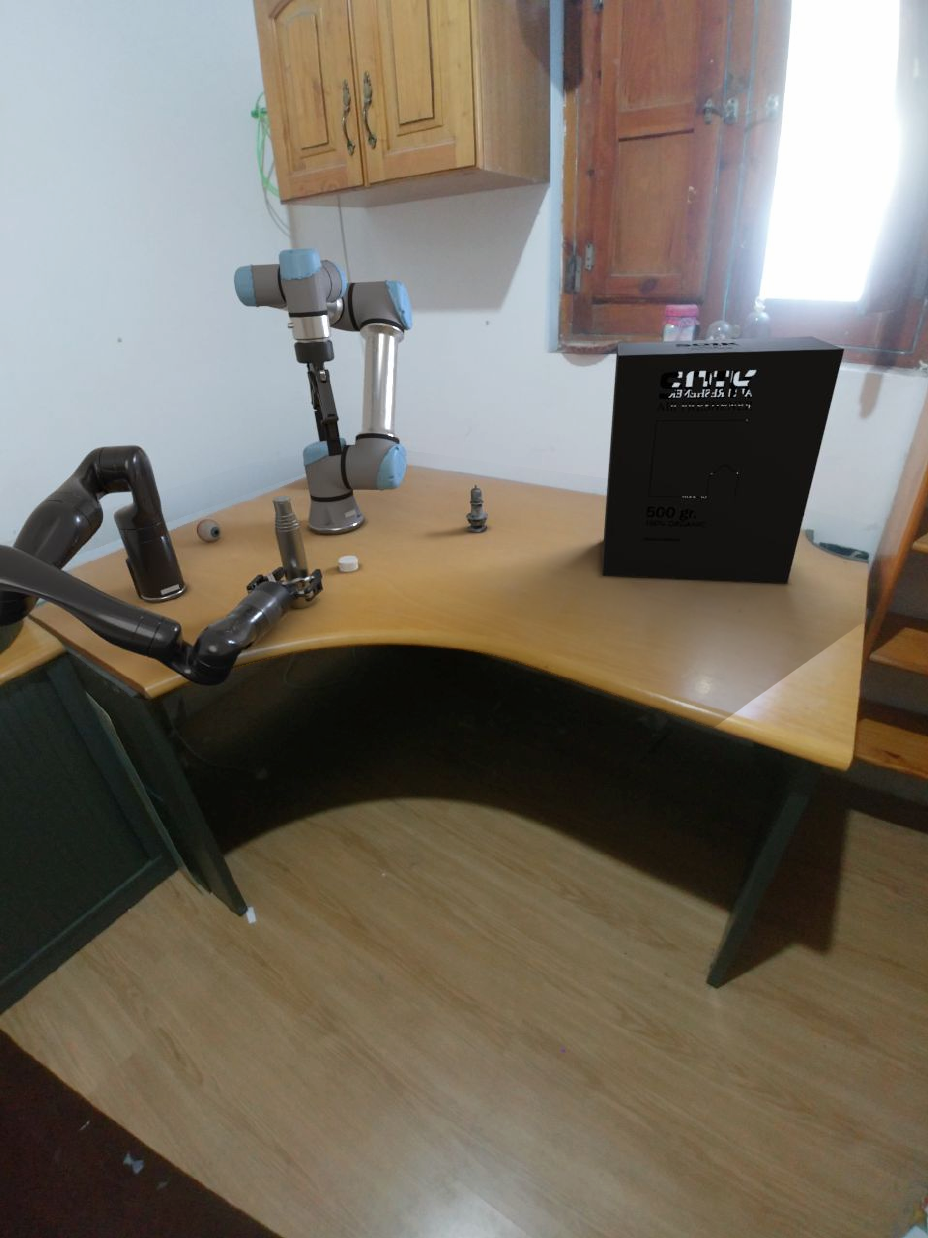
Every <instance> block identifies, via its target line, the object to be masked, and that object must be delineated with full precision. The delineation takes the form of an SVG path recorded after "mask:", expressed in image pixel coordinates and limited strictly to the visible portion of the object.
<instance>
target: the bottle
mask: <svg viewBox="0 0 928 1238" xmlns="http://www.w3.org/2000/svg"><path fill="white" fill-rule="evenodd" d="M290 497H291V496H289V495H279V496H276V497H273V498H272V500H271V501H272V504H273V507H274V512H275V513H274V524H273V526H274V533H275V538H276V542H277V546H278V551H279V555H280V556H279V557H280V560H281V564H282V567H283V569H284V574H285V575H284V578H285V581H291V580H294V579H297V578H299V577H301V578H306V577H309V576H310V575H311V573H310V570H309V564H308V560H307V555H306V549H305V545H304V540H303V536H302V535H303V534H302V530H301V525H300V522H299V520H298V518H297V516H296V514H295V512H294V511H293V507H292V502H291V498H290ZM305 585H306V587H307V586H308V585H309V582H306V583H305ZM297 587H298V589H299V591H300V590H301V588H300V584H299V583H297ZM315 600H316V599H315V598H314V599H313V600H312V601H310V602H306V600H305V598H301V597H299V598H298V599H297V600H295V601H293V603H292V605H291V607H292V608H296V609H304V608H305V609H306V608H308V607H311V606H313V604H315Z"/></svg>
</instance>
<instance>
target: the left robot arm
mask: <svg viewBox="0 0 928 1238" xmlns="http://www.w3.org/2000/svg"><path fill="white" fill-rule="evenodd" d="M118 493H119V494H120V493H121V494H122V493H131V498H132V502H131V503H128V504H126V505H125V506H122V507H120V508H119V509H117V510H116V511H115V512H114V513H113V520H114V522H115V525H116V528H117V531H118V533H119V536H120V539H121V541H122V544H123V547H124V551H125V552H126V555H127V557H126V558H125V564H126V567H127V570H128V572H129V575H130V577H131V580H132V583H133V585H134V588H135V591H136V595H137V597H138V598H139V599H142V600H143V601H144V602H146V603H163V602H167V601H171V600H173V599H176V598H178V597H181V595H183V594H184V593H186V591H187V588H188V587H187V584H186V582H185V580H184V576H183V574H182V570H181V566H180V563H179V560H178V557H177V554H176V551H175V548H174V545H173V542H172V538H171V534H170V532H169V530H168V526H167V523H166V520H165V517H164V514H163V510H162V509H163V508H162V502H161V497H160V492H159V490H158V486H157V482H156V478H155V474H154V469H153V467H152V462H151V460H150V458H149V456H148V454H147V452H146V451H145V450H144V448H143V447H141V446H140V445H136V444H127V445H126V444H125V445H107V446H100V447H97V448H94V449H92V450H90V451H89V453H87V454H86V455H85V457H84V458H83V460H82V461H81V462H80V463H79V465H78V466H77V468H76V469H75V470H74V472H72V474H71V475H70V476H69V477H68V478H67V479H66V480H64V481H63V482H62V484H61V485H60V486H59V487H57V489H55V490H54V491H53V492H52V493H51V494H49V495H48V496H47V497H46V498H44V499H43V500H42V501H41V502H40V503H39V504H38V505H37V506H36V507H35V508H34V509H33V510H32V511H31V512H30V514H29V515H28V517H27V518H26V520H25V522H24V524H23V526H22V527H21V528H20V530H19V532H18V535H17V536H16V539H15V541H14V543H13V544H12V546H11V545H6V544H0V628H2V627H7V626H11V625H13V624H16V623H19V622H21V621H22V620H24V619H25V618H27V617H28V616H29V615H30V614H31V613H32V611H33V610H34V608H35V607H36V605H37V604H38V602H39V600H40V599H41V600H44V601H46V602H48V603H52V604H53V605H55V606H57V607H58V608H61V609H62V610H64V611H66V612H67V613H69V614H70V615H72V616H73V617H74V618H76V619H77V620H78V621H79V622H81V623H82V624H83V625H85V626H86V628H88V629H89V630H91V632H93V633H94V634H95V635H96V636H98V637H99V638H101V639H103V640H104V641H105V642H107V643H109V644H111V645H112V646H115V647H117V648H120V649H122V650H124V651H128V652H131V653H134V654H136V655H140V656H143V657H146V658H149V659H153V660H155V661H157V662H159V663H160V664H162V665H163V666H164V667H166V668H167V669H169V670H170V671H173V672H174V673H176V674H177V675H179V676H181V677H182V678H183V679H185V680H188V681H189V682H191V683H194V684H197V685H200V686H207V687H208V686H209V687H213V686H219V685H222V684H223V683H224V682H225V681H226V680H227V679H228V678H229V676H230V674H231V672H232V670H233V668H234V666H235V664H236V662H237V660H238V658H239V657H240V654H242V652H243V651H247V650H249V649H250V648H252V647H254V646H255V645H256V644H257V643H258V642H259V641H260V640H261V639H262V638H263V637H264V635H266V634H267V633H268V632H270V631H271V630H272V629H273V628H274V627H275V626H276V625H277V624H278V623H279V622H280V621H281V620H282V619H283V618H284V617H285V616H286V614H287V613H289V611H290V610H291V607H292V603H293V601H295V600H297V599H298V598H299V597H301V598H305V600H306V602H310V601H312V600H313V599H315V598H316V597H317V596H318V595H319V594H320V593H322V591H323V590H324V585H323V582H322V579H323V573H322V570H321V569H320V568H315V569H314V570H313V571H312V572H311V573H310V576H309V577H306V578H301V577H299V578H297V579H294V580H291V581H286V580H284V579H283V578H285V574H284V569H283V566H278V567H277V568H276V569H274V570H273V571H272V572H271V573H267V574H265V575H263V573H262V574H261V573H260V574H257V575H256V576H255V577H254V578H253V579H252V580H251V581H249V583H248V584H247V585H246V586H245V588H246V591H247V595H246V596H244V597H243V599H241V600H240V602H239V603H238V604H237V606H236V607H234V608H233V609H232V610H231V611H230V612H229V613H228V614H227V615H226V616H225V617H222V618H220V619H218V620H216V621H214V622H212V623H210V624H208V625H207V626H206V627H205V628H203V630H202V631H201V632H200V633H199V634H198V635H197V638H196V640H195V642H194V644H191V643H189V641H186V640H185V639H184V638H183V628H182V625H181V623H180V622H178V621H177V620H175V619H172V618H170V617H167V616H164V615H161V614H159V613H156V612H154V611H151V610H148V609H145V608H142V607H139V606H137V605H134V604H131V603H130V602H126V601H124V600H121V599H119V598H117V597H115V596H113V595H110V594H108V593H106V592H105V591H102V590H101V589H98V588H97V587H95V586H92V585H91V584H89V583H87V582H85V581H84V580H81V579H80V578H78V577H76V576H75V575H73V574H70V573H68V572H66V571H64V570H63V568H65V567H66V565H68V563H69V562H70V561H72V559H73V558H74V557H75V556H76V555H77V554H78V552H80V550H81V549H82V548H84V547H85V545H87V543H88V542H89V541H90V540H91V539H92V538H93V537H94V536H95V534H96V533H97V532H98V531H99V529H100V528H101V527H102V524H103V521H104V509H103V506H102V504H101V501H100V500H102V499H103V498H105V497H106V496H108V495H110V494H118ZM306 582H309V585H308V586H307V587H306V585H305V583H306ZM297 583H299V584H300V588H301V590H300V591H299V589H298V587H297Z"/></svg>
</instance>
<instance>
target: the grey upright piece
mask: <svg viewBox="0 0 928 1238" xmlns="http://www.w3.org/2000/svg"><path fill="white" fill-rule="evenodd" d="M482 492H483V491H482V489H481V488H480V487H478V485H477V484H475V485H474V487H473V488H471V490H470V501H469V504H470V512H469V513H467V514H466V516H465V518H466V520H467V522H468V524H469V526H468V527H467V530H468V531H469V532H472V533H480V532H485V531H487V530H488V526H487V525H486V523H487V520H488V517H489V514H488V513H487V512H484V509H483V504H484V500H483V494H482Z"/></svg>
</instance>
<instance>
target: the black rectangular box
mask: <svg viewBox="0 0 928 1238" xmlns="http://www.w3.org/2000/svg"><path fill="white" fill-rule="evenodd" d="M844 353H845V348H843V347H841V346H838V345H835V344H832V343H830V342H827V341H824V340H821V339H819V338H816V337H814V336H792V337H791V336H790V337H788V336H787V337H757V338H729V339H727V338H726V339H698V340H696V339H695V340H669V341H668V340H667V341H665V340H664V341H635V342H617V343H616V355H615V356H616V357H615V358H616V359H615V372H614V385H613V399H612V412H611V429H610V440H609V441H610V443H609V455H608V456H609V458H608V471H607V483H606V485H607V486H606V501H605V514H604V527H603V544H602V545H603V546H602V549H603V550H602V551H603V552H602V576H606V577H625V578H626V577H627V578H628V577H629V578H630V577H631V578H647V579H648V578H653V579H673V580H695V581H697V580H698V581H699V580H700V581H722V582H745V583H763V584H765V583H767V584H786V585H787V584H788V582H789V578H790V575H791V570H792V566H793V562H794V557H795V554H796V549H797V546H798V541H799V537H800V534H801V529H802V526H803V525H802V524H803V521H804V517H805V513H806V509H807V504H808V501H809V496H810V492H811V488H812V484H813V480H814V475H815V472H816V467H817V464H818V460H819V455H820V451H821V448H822V443H823V439H824V435H825V431H826V427H827V422H828V420H829V419H828V418H829V414H830V410H831V407H832V401H833V397H834V395H835V389H836V385H837V381H838V377H839V374H840V373H839V372H840V370H841V366H842V365H841V364H842V360H843V356H844ZM750 371H755V372H754V373H753V374H752V375H749V376H748V375H747V374H748V373H749V372H750ZM692 372H693V375H692V382H691V386H687V382H688V381H687V379H688V375H689V374H690V373H692ZM700 372H705V375H704V376H700ZM679 373H681V376H680V374H679ZM715 373H716V375H715ZM727 373H728V375H727ZM737 373H738V379H737V381H738V382H747V384H746V385H736V384H735V383H734V380H735V376H736V374H737ZM705 382H706V385H704V384H705ZM718 382H719V383H721V382H722V383H723V386H722V385H721V386H719V385H718V386H717V383H718ZM674 384H679V385H677V386H674Z"/></svg>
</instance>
